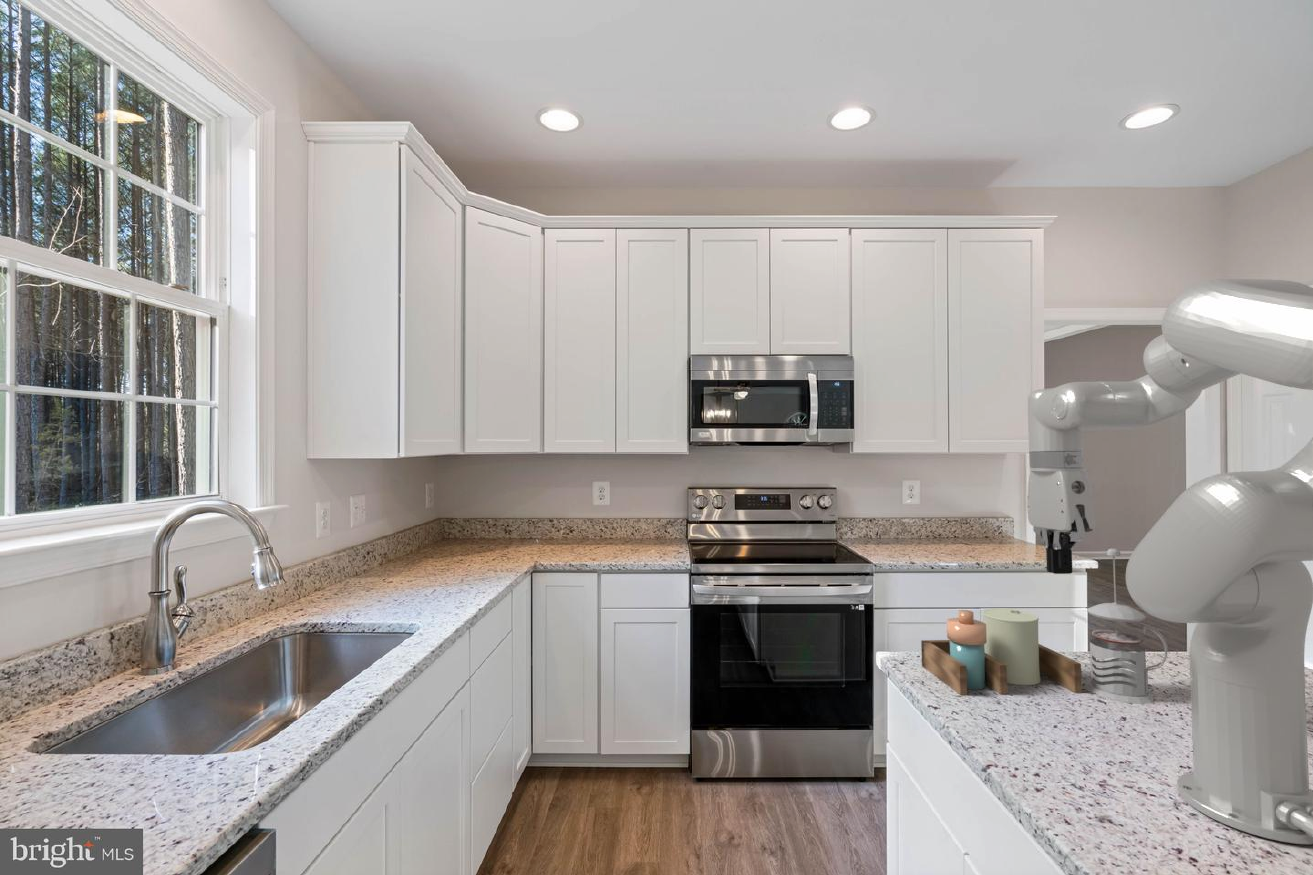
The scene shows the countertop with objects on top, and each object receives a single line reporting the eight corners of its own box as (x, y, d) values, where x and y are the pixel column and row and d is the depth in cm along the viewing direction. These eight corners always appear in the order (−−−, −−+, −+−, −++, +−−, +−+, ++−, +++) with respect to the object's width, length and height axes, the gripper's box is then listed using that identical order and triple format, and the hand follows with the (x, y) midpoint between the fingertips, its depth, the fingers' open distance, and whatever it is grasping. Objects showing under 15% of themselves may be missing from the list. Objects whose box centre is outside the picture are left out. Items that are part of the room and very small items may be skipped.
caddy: (1081, 692, 101) (1080, 663, 101) (960, 694, 101) (959, 665, 101) (1028, 663, 115) (1027, 638, 115) (921, 665, 115) (921, 640, 115)
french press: (1088, 676, 109) (1084, 542, 109) (1171, 694, 100) (1166, 549, 101) (1078, 692, 102) (1074, 549, 102) (1166, 712, 93) (1161, 556, 94)
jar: (992, 689, 103) (990, 643, 103) (961, 689, 103) (960, 644, 103) (974, 677, 109) (973, 634, 109) (944, 677, 109) (943, 634, 109)
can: (1045, 675, 109) (1043, 611, 110) (1034, 689, 103) (1032, 621, 103) (990, 663, 116) (989, 603, 116) (977, 676, 109) (975, 612, 110)
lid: (994, 644, 103) (993, 616, 103) (958, 645, 103) (957, 616, 103) (974, 633, 109) (973, 606, 109) (940, 633, 109) (940, 607, 109)
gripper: (1114, 462, 90) (1118, 582, 89) (1047, 461, 104) (1050, 564, 104) (1066, 463, 89) (1070, 582, 89) (1006, 462, 104) (1009, 564, 104)
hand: (1059, 572), depth 96 cm, fingers closed
